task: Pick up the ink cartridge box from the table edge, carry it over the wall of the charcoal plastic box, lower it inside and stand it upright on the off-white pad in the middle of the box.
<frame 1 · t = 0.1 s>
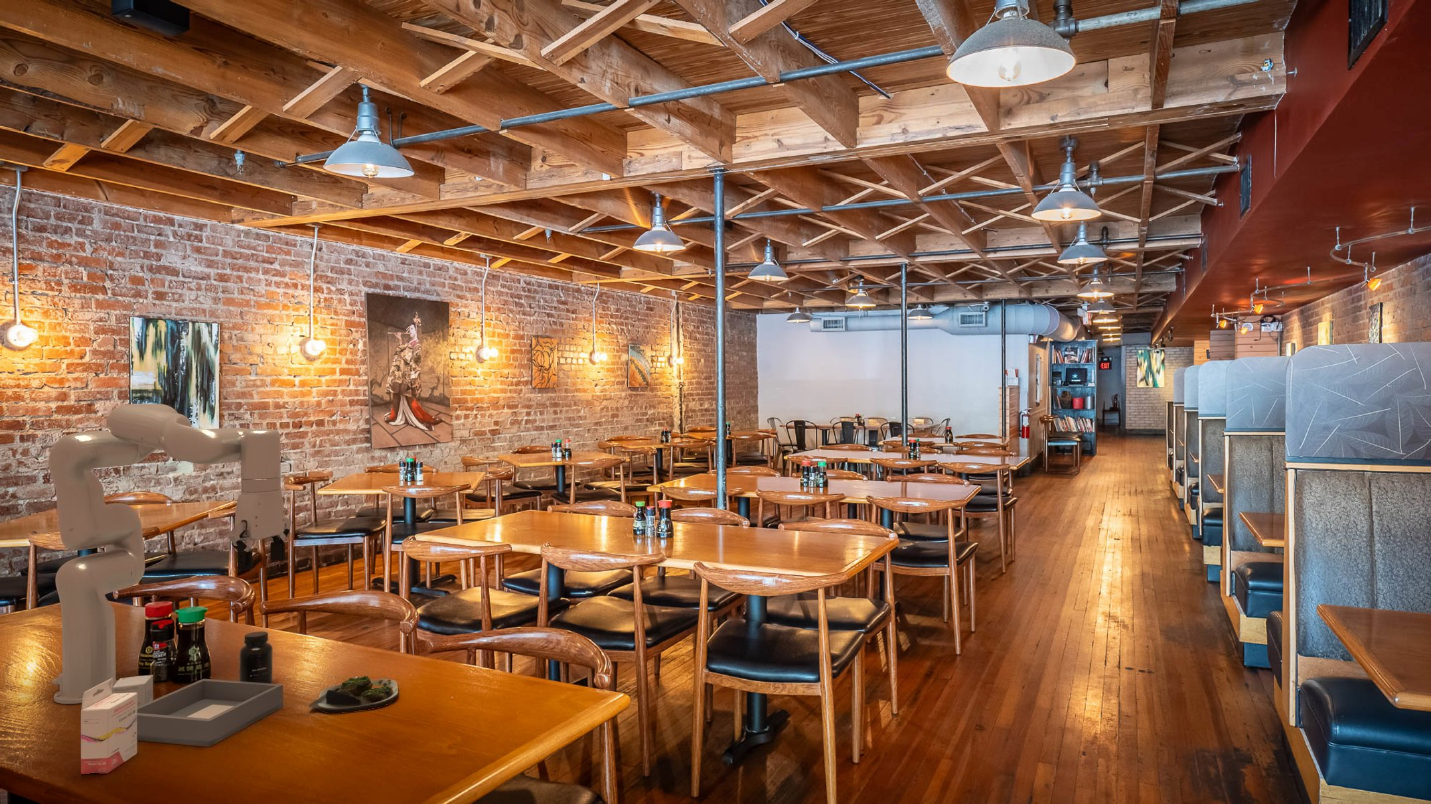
hand: (261, 564, 175), 31 cm above the table, tool pointing down, fingers open, 9 cm apart
ink cartridge box: (110, 765, 149), on the table
product box: (132, 715, 172), on the table
salad plate: (356, 702, 180), on the table
supplement bottle: (256, 685, 189), on the table
walled box: (206, 722, 168), on the table
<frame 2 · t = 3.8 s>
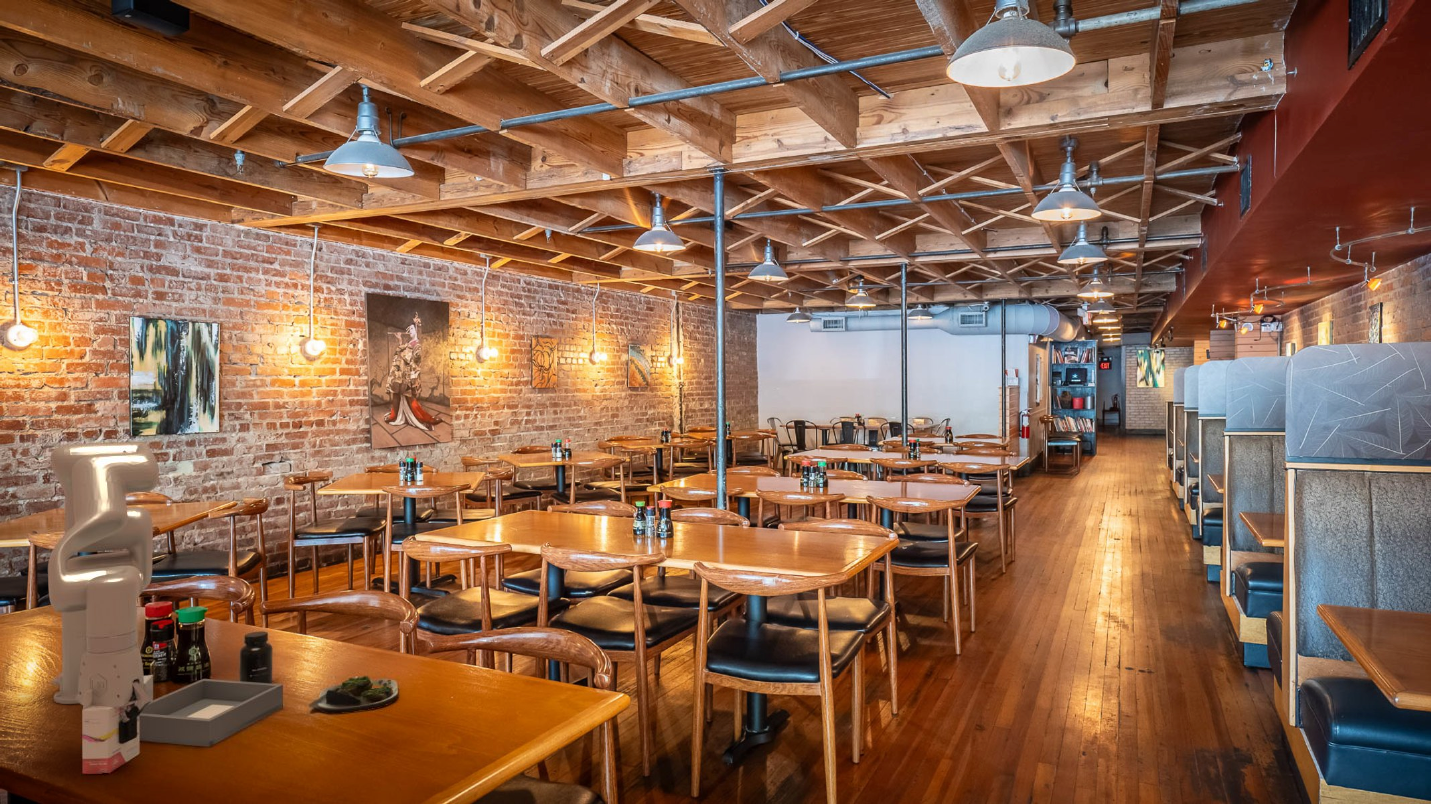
hand: (113, 738, 149), 5 cm above the table, tool pointing down, fingers closed on ink cartridge box, 5 cm apart
ink cartridge box: (112, 765, 149), on the table, touching gripper
everything else where it was.
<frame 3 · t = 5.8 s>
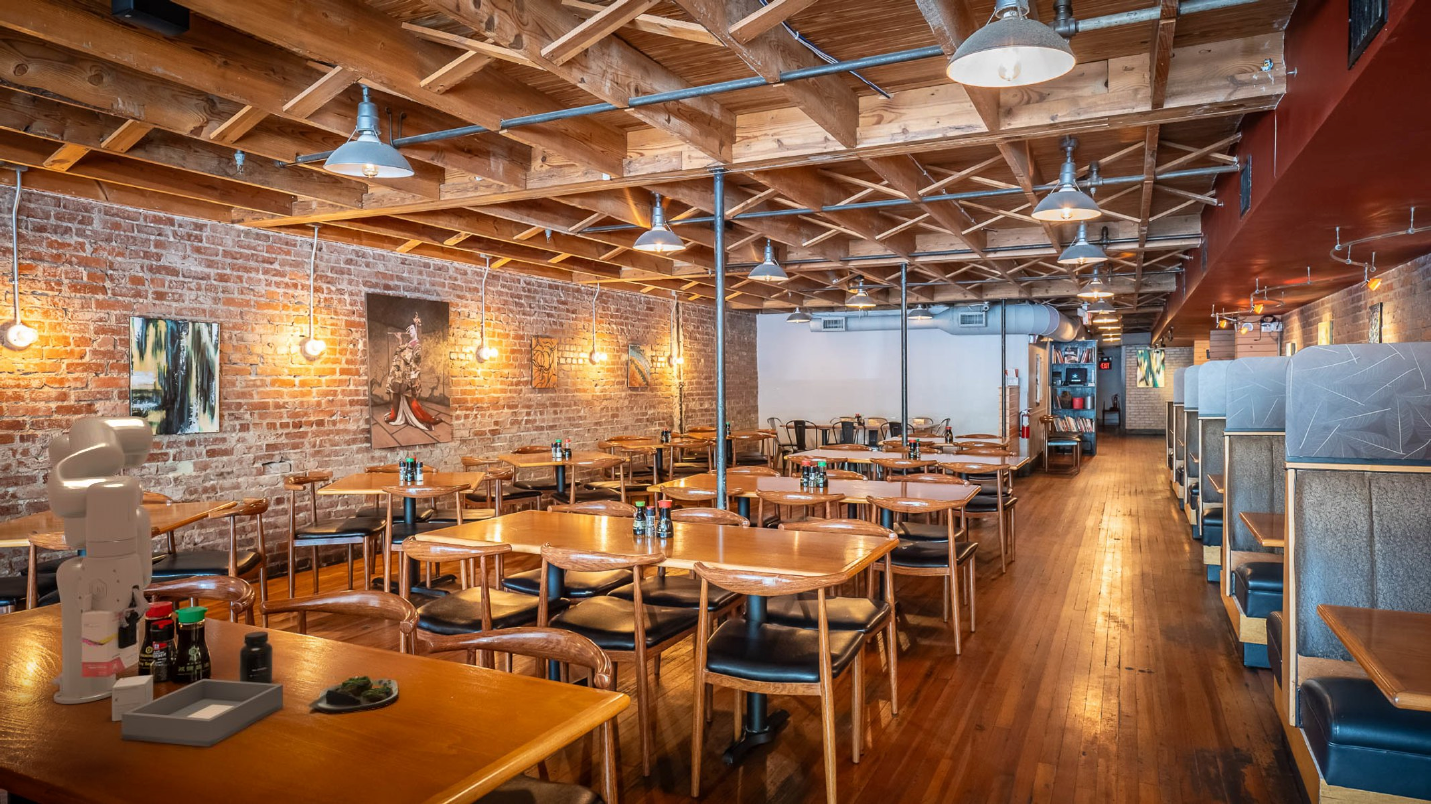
hand: (112, 644, 149), 22 cm above the table, tool pointing down, fingers closed on ink cartridge box, 5 cm apart
ink cartridge box: (111, 670, 149), point 17 cm above the table, touching gripper
everything else where it was.
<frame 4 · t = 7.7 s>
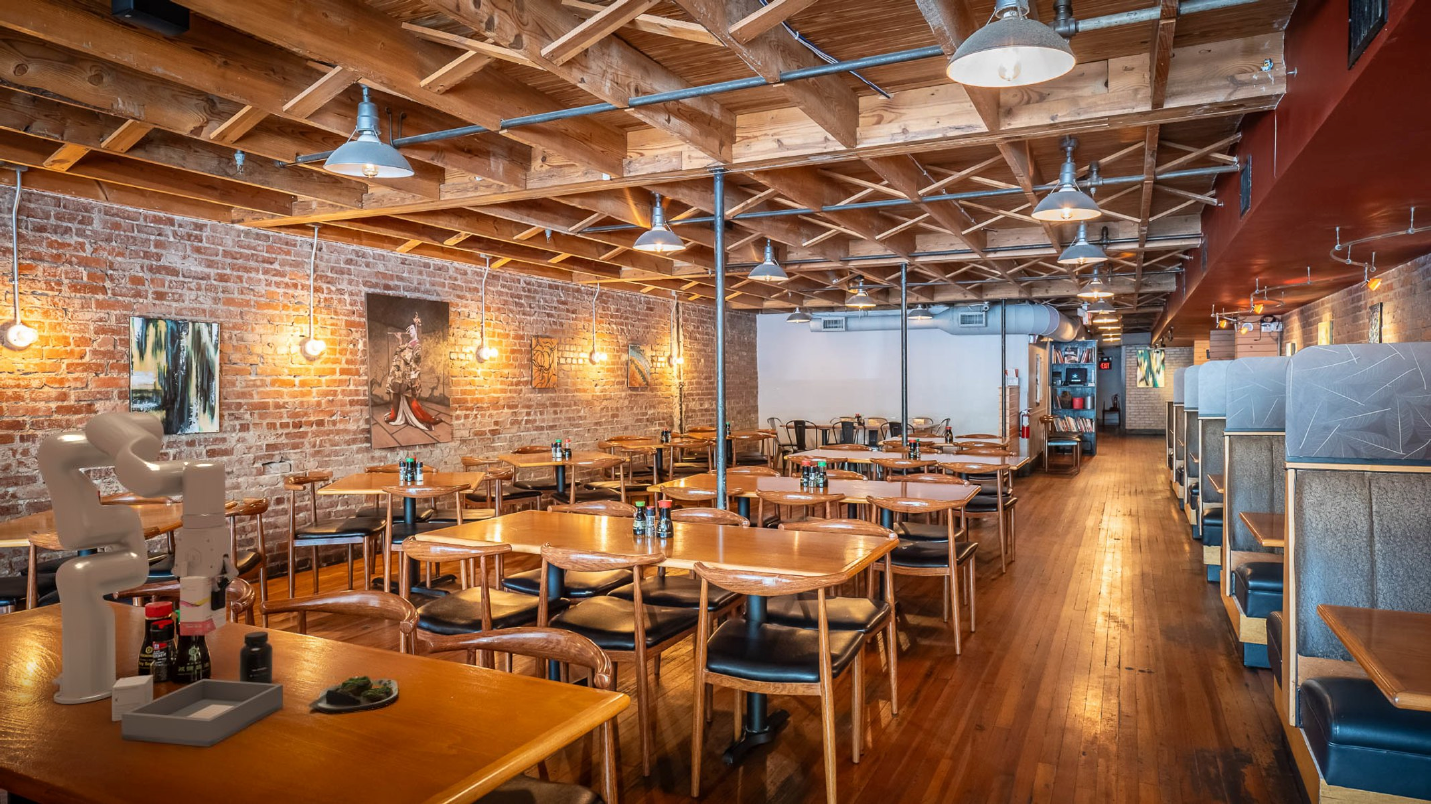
hand: (205, 607, 167), 24 cm above the table, tool pointing down, fingers closed on ink cartridge box, 5 cm apart
ink cartridge box: (204, 630, 167), point 19 cm above the table, touching gripper
everything else where it was.
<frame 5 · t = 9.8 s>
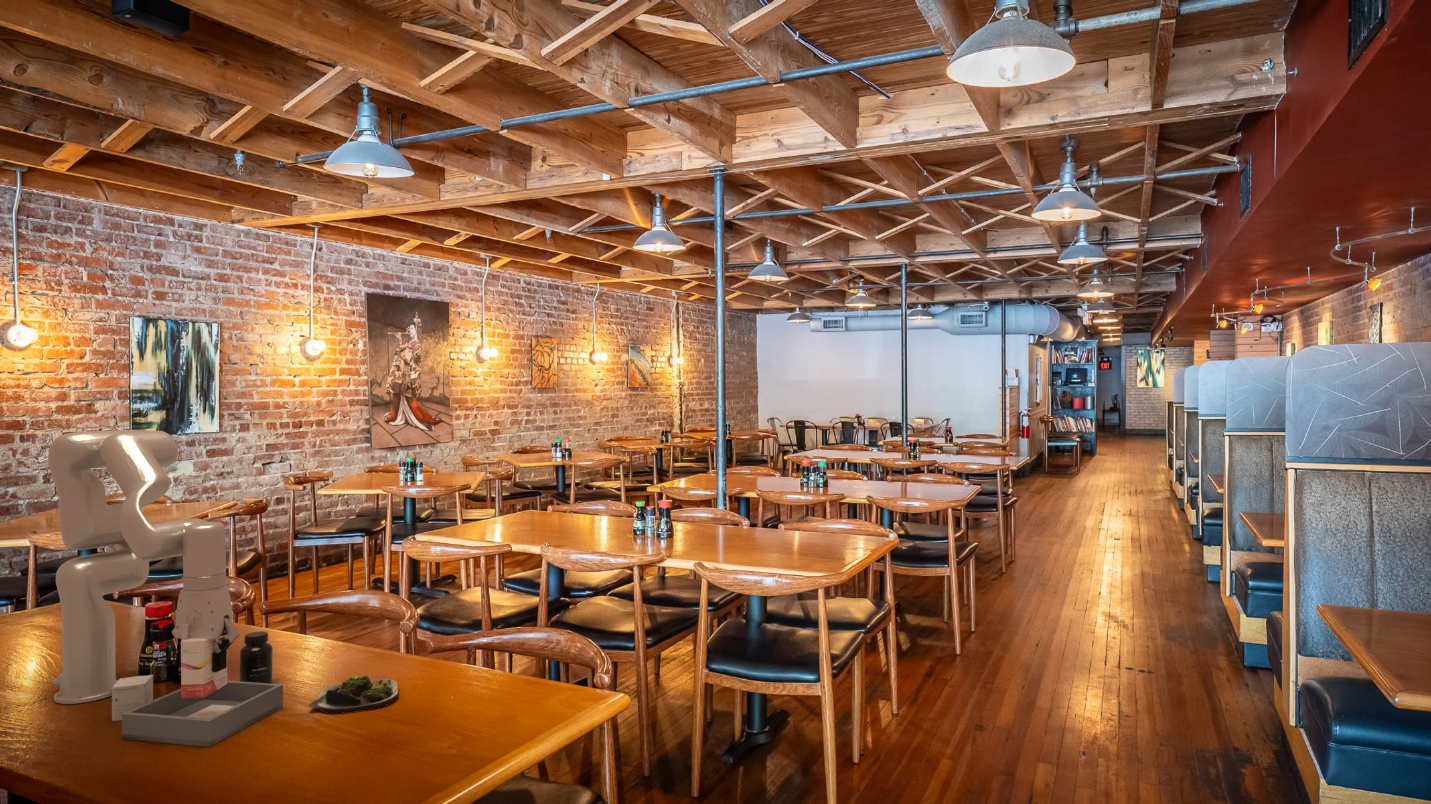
hand: (206, 668, 167), 11 cm above the table, tool pointing down, fingers closed on ink cartridge box, 5 cm apart
ink cartridge box: (205, 692, 167), point 7 cm above the table, touching gripper
everything else where it was.
when the fingers open (6 cm above the table, at t = 11.7 s): ink cartridge box stays where it is, resting on walled box.
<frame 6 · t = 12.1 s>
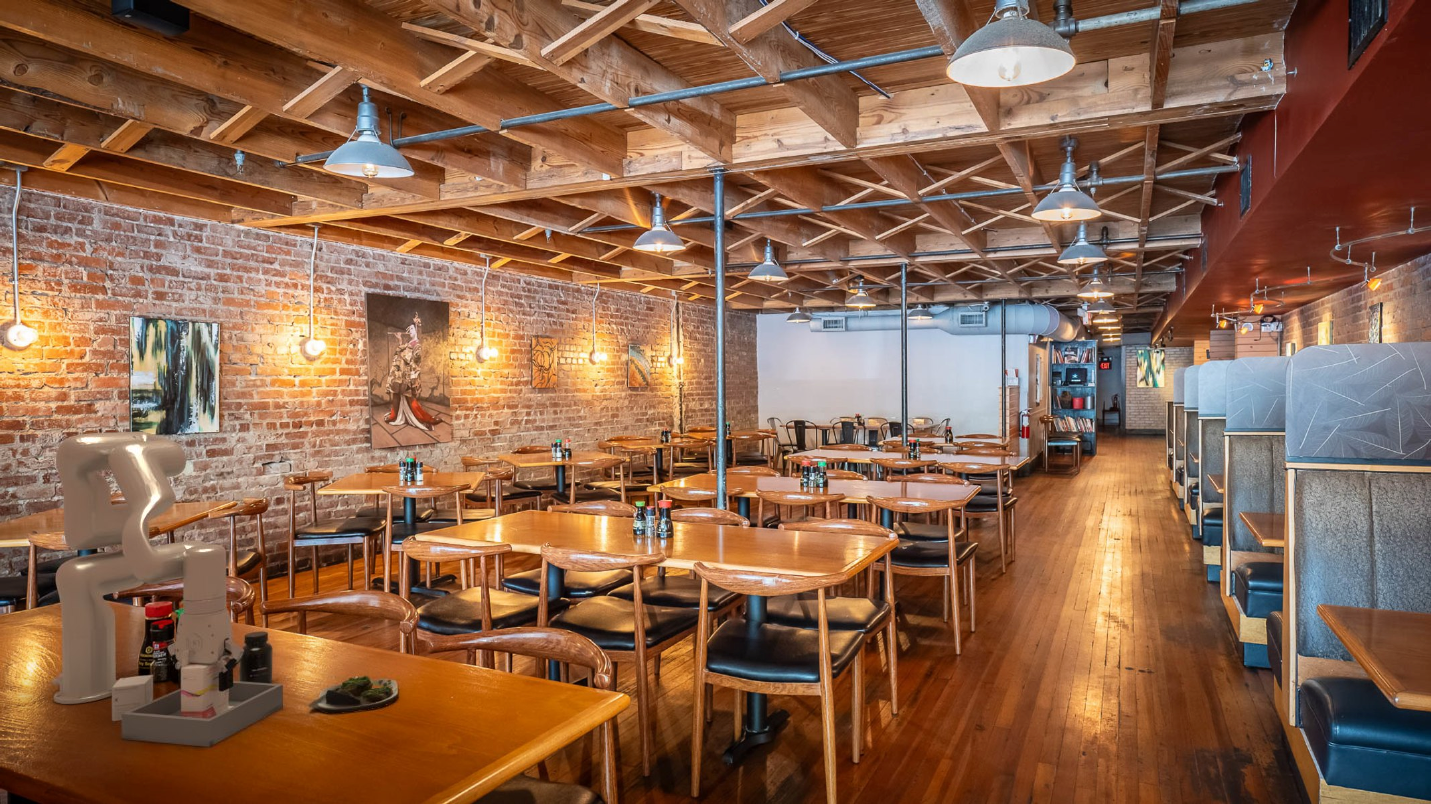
hand: (206, 687, 167), 7 cm above the table, tool pointing down, fingers open, 9 cm apart
ink cartridge box: (206, 718, 167), point 1 cm above the table, touching walled box
everything else where it was.
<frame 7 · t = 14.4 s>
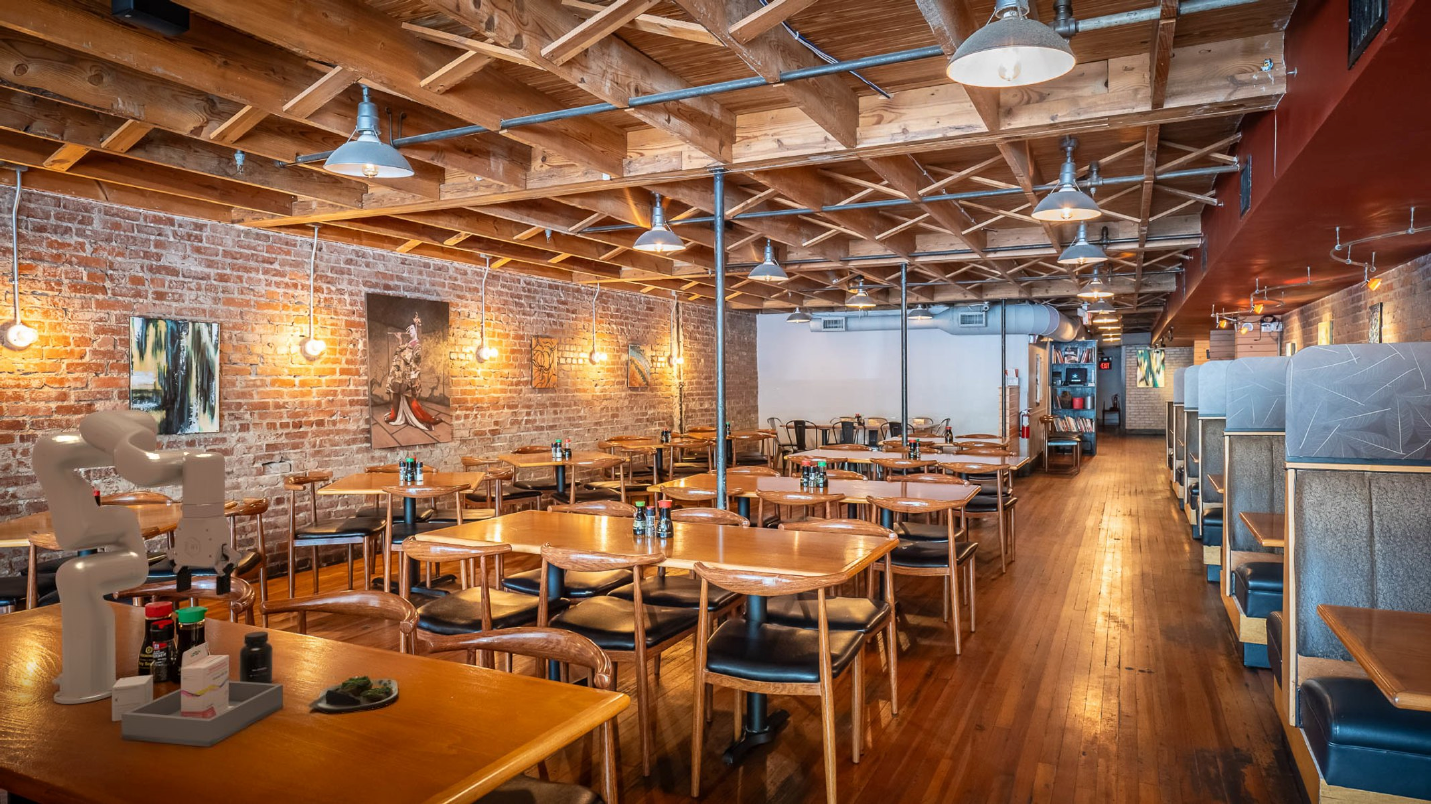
hand: (203, 592, 169), 27 cm above the table, tool pointing down, fingers open, 9 cm apart
nothing on the table moved.
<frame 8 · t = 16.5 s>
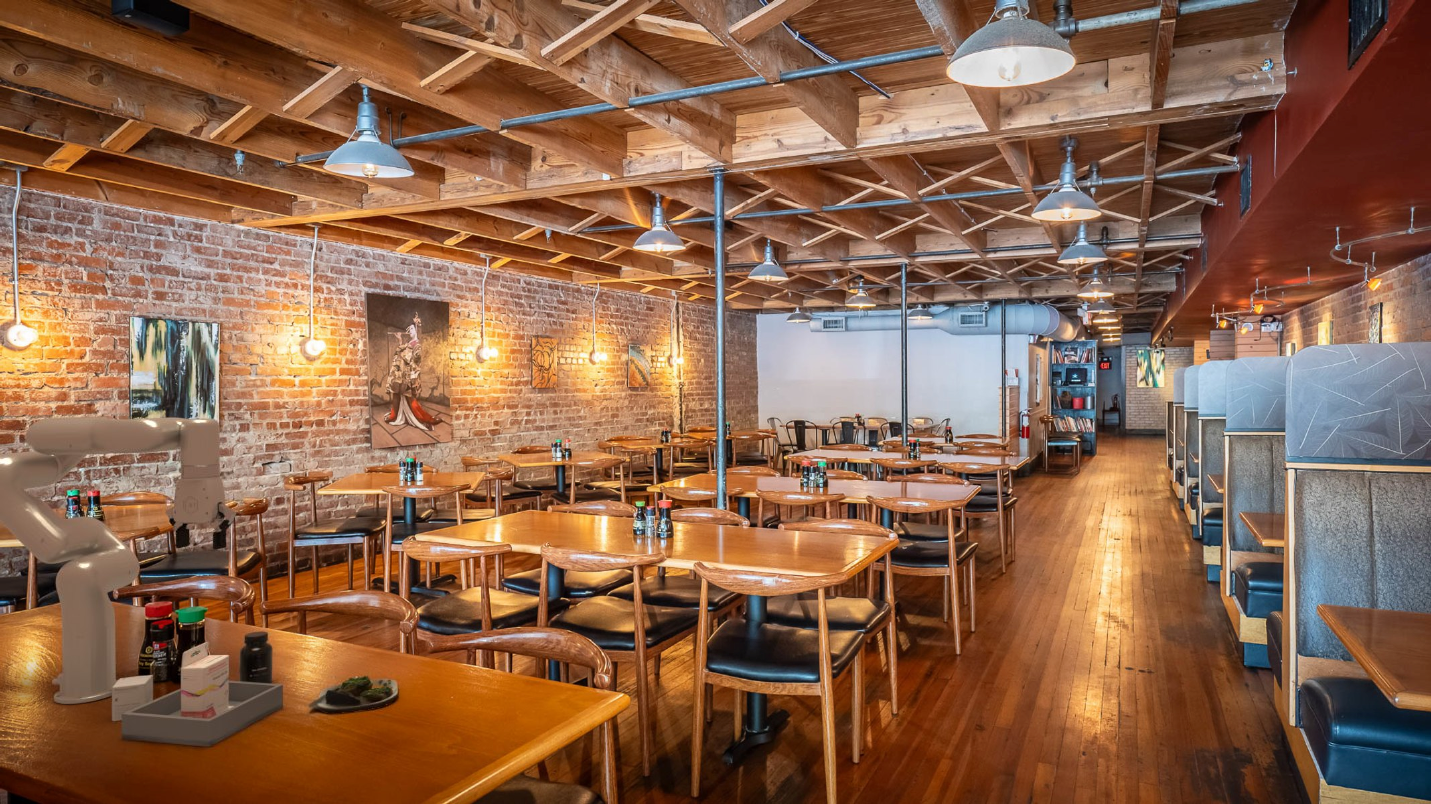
hand: (201, 547, 184), 33 cm above the table, tool pointing down, fingers open, 9 cm apart
nothing on the table moved.
at the end: ink cartridge box inside the target area on the walled box (0.4 cm from its centre), point 1.0 cm above the walled box's base; ink cartridge box tilted 0°; the gripper is holding nothing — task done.
